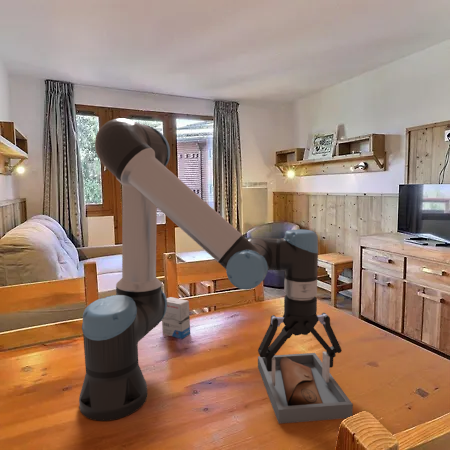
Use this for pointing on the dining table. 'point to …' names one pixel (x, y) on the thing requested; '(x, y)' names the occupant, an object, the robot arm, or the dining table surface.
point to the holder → (330, 408)
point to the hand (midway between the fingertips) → (299, 381)
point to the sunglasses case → (298, 383)
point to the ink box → (176, 318)
